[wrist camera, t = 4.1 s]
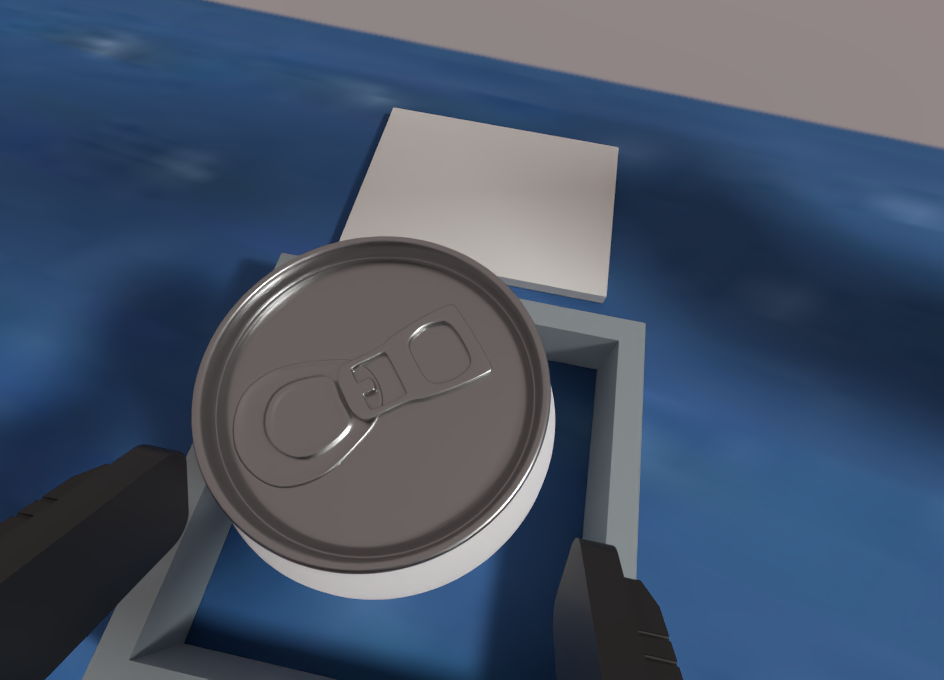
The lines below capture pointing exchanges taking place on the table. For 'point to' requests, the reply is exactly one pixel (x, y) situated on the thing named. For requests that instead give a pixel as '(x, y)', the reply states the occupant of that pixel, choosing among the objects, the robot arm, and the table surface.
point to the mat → (495, 199)
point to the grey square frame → (195, 554)
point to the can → (375, 416)
